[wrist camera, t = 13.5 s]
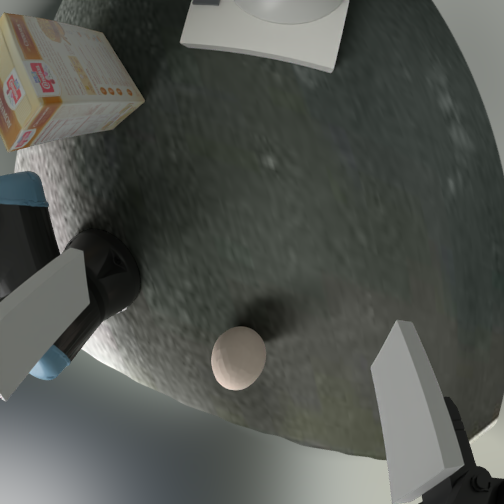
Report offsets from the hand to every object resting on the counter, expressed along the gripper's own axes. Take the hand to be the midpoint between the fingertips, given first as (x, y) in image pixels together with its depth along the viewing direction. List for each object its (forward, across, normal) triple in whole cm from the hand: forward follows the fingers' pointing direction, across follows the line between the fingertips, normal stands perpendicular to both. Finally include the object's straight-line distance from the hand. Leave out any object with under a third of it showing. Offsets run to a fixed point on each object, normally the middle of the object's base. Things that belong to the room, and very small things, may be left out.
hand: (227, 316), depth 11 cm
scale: (+28, -4, +26) cm, 38 cm away
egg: (+28, 0, -25) cm, 38 cm away
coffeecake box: (+29, -26, +11) cm, 40 cm away
